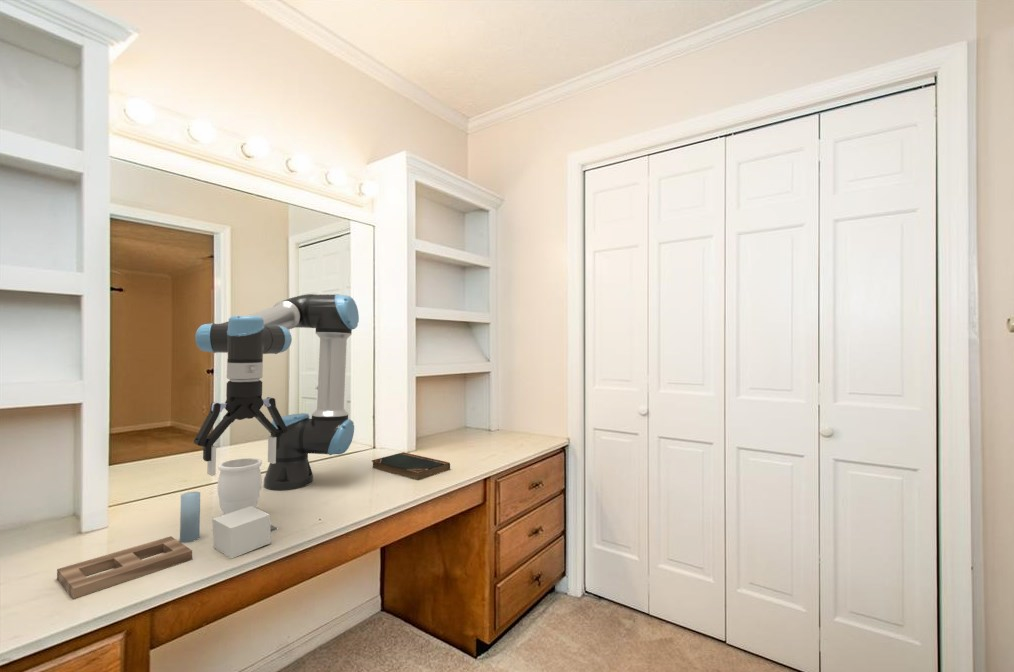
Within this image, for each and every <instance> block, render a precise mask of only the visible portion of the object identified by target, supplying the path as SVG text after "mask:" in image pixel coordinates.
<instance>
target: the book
mask: <svg viewBox="0 0 1014 672" xmlns="http://www.w3.org/2000/svg"><path fill="white" fill-rule="evenodd" d="M371 462H372V469H374V470H378V471H381V472H386V473H389V474H393V475H396V476H401V477H404V478H408V479H411V480H415V481H420V480H422V479H425V478H429V477H431V476H435V475H438V474H441V473H443V471H444V472H447V471H449V470H451V463H450V462H449V461H445V460H439V459H435V458H432V457H431V458H430V457H426V456H421V455H418V454H413V453H409V452H406V451H405V452H398V453H396V454H391V455H388V456H383V457H380V458H375V459H372V460H371ZM446 470H447V471H446ZM440 472H441V473H440ZM437 473H438V474H437ZM434 474H435V475H434Z"/></svg>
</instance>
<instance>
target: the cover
mask: <svg viewBox="0 0 1014 672" xmlns="http://www.w3.org/2000/svg"><path fill="white" fill-rule="evenodd" d="M270 525H271V514H269V513H268V512H265V511H263V510H261V509H259V508H257V507H253V506H250V507H247V508H244V509H241V510H238V511H235V512H231V513H228V514H225V515H223V514H222V515H219V516H216V517H213V518H212V536H213V538H212V541H213V546H212V547H213V548H214V549H215V548H216V549H215V550H216V551H218V550H219V551H218V552H220V553H221V552H222V553H221V554H223V553H224V554H223V555H225V556H226V557H228V558H230V559H234V558H236V557H240V556H241V555H244V554H246V553H249V552H251V551H254V550H257V549H259V548H262V547H264V546H266V545H270V544H271V543H272V541H271V540H272V539H271V537H272V536H271V535H272V531H271V530H270Z"/></svg>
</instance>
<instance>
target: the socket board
mask: <svg viewBox="0 0 1014 672" xmlns="http://www.w3.org/2000/svg"><path fill="white" fill-rule="evenodd" d="M154 555H156V556H154ZM151 556H152V557H151ZM191 559H192V560H193V550H192V549H191V548H189V547H188V546H187V545H185V544H184V543H183V542H180V540H177V539H176V538H174V537H173V536H171V535H170V536H166V537H164V538H159V539H157V540H153V541H149V542H146V543H143V544H140V545H136V546H132V547H129V548H128V547H127V548H126V549H121V550H119V551H115V552H112V553H111V552H110V553H107V554H105V555H104V554H103V555H102V556H98V557H94V558H90V559H87V560H85V561H80V562H78V563H74V564H71V565H70V564H69V565H66V566H63V567H60V568H57V570H56V580H57V581H58V582H59V583H60V584H61V586H62V587H63V588H64V589H65V591H66V592H67V593H68V595H70V597H71V598H72V599H73V600H74V599H78V598H81V597H83V596H87V595H89V594H93V593H96V592H98V591H101V590H104V589H107V588H111V587H113V586H118V585H119V584H123V583H125V582H129V581H131V580H134V579H136V578H137V579H138V578H141V577H143V576H148V575H150V574H153V573H155V572H158V571H162V570H164V569H167V568H170V567H174V566H176V564H177V565H179V563H180V564H182V563H181V562H183V563H186V562H188V560H189V561H191ZM185 561H186V562H185ZM173 565H174V566H173ZM110 569H111V570H110ZM100 572H101V573H100ZM94 574H95V575H94Z"/></svg>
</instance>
